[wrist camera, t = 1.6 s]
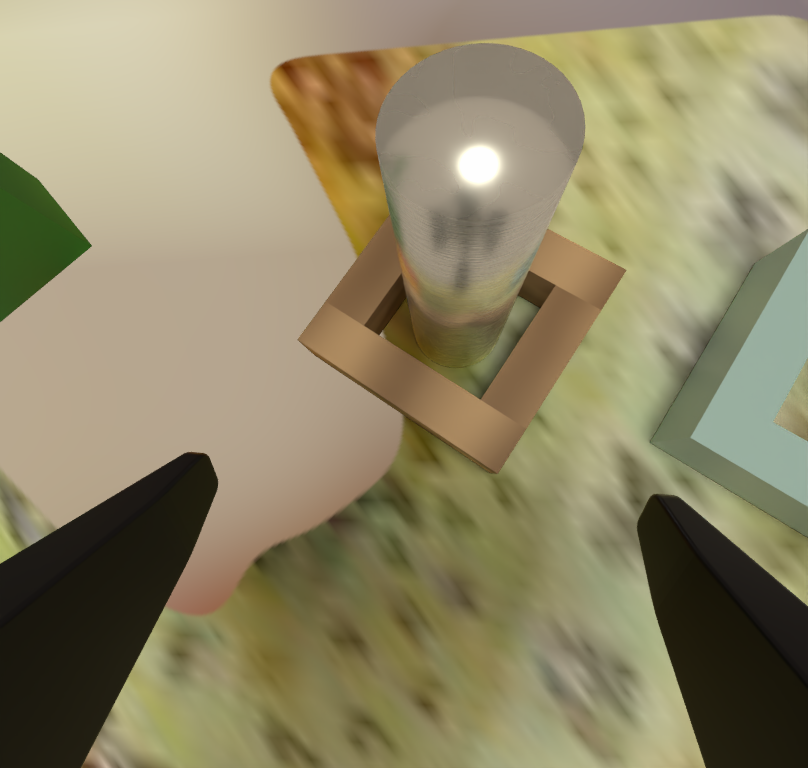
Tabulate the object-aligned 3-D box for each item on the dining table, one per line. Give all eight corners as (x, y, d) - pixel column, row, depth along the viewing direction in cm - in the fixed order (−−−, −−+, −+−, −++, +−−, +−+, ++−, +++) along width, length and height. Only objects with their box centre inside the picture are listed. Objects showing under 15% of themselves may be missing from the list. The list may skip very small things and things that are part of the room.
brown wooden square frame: (603, 295, 23) (626, 269, 20) (489, 472, 22) (497, 473, 19) (427, 200, 25) (425, 165, 22) (315, 355, 24) (297, 339, 21)
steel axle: (516, 313, 23) (624, 92, 10) (469, 384, 23) (513, 256, 9) (443, 271, 24) (447, 16, 10) (397, 338, 24) (335, 160, 10)
